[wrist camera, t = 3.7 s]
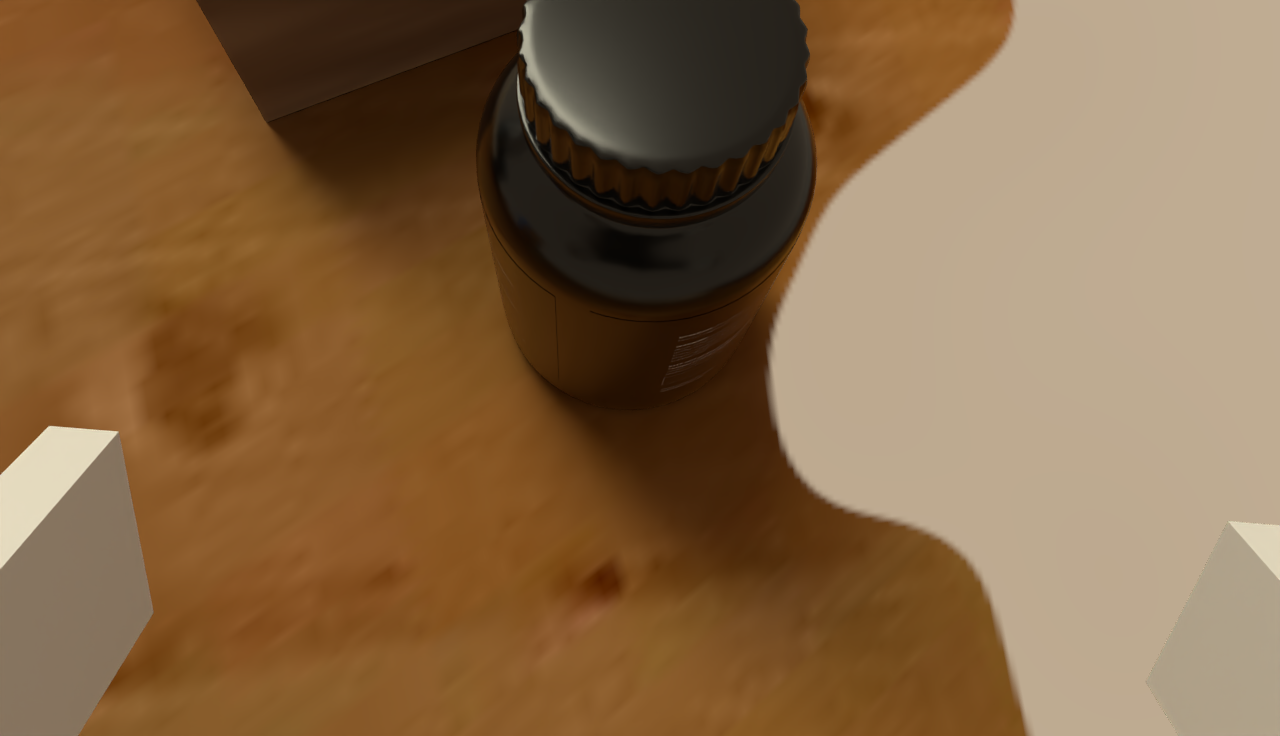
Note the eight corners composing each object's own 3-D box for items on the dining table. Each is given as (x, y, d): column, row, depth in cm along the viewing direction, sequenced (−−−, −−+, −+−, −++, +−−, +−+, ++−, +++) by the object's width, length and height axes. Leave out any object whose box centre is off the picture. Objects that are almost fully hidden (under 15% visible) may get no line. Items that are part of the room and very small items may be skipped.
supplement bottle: (729, 180, 28) (849, -138, 16) (758, 405, 26) (916, 227, 15) (493, 191, 27) (446, -133, 16) (507, 424, 25) (465, 252, 14)
